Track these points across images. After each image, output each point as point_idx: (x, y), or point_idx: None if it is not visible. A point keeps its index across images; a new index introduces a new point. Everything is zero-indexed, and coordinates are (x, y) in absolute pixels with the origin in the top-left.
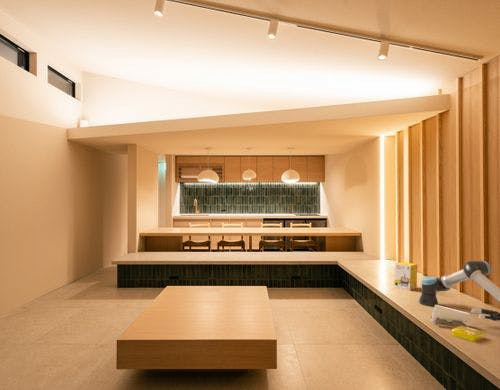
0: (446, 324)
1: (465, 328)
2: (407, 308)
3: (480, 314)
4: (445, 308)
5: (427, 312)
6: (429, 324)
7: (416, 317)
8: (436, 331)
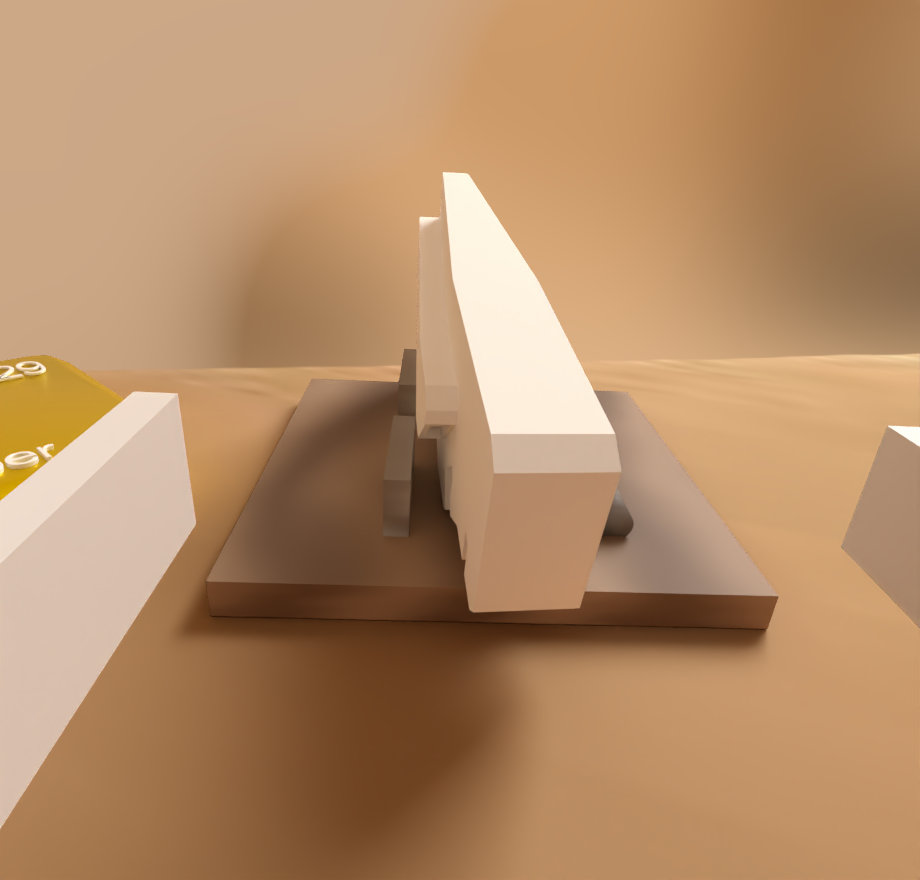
0: (357, 419)
1: (18, 432)
2: (841, 367)
3: (139, 405)
4: (445, 224)
5: (868, 435)
6: (390, 377)
7: None
8: (185, 371)
